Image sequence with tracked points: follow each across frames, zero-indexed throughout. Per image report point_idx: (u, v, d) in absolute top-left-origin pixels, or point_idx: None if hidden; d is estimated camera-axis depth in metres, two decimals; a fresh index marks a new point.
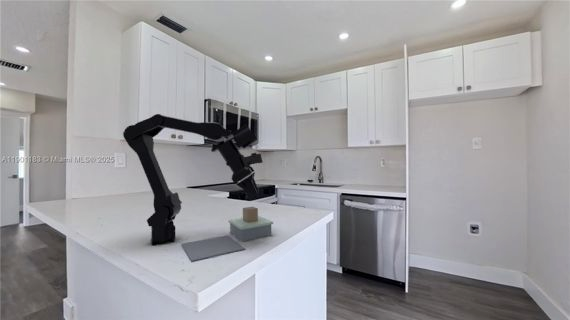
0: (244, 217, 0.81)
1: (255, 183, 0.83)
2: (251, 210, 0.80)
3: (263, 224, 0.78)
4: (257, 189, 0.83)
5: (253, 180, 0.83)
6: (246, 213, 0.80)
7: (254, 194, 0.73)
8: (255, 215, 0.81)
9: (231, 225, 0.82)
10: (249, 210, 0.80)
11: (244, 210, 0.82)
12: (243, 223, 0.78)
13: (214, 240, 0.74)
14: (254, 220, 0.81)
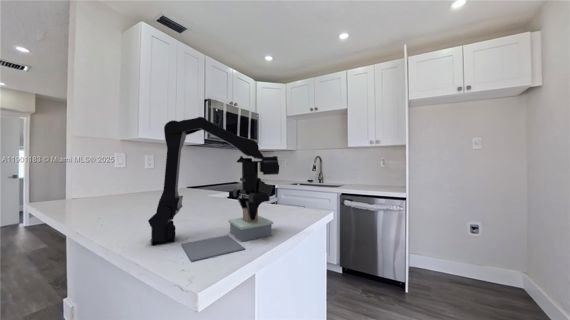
0: (244, 217, 0.81)
1: None
2: None
3: (263, 224, 0.78)
4: None
5: None
6: (246, 213, 0.80)
7: (252, 217, 0.80)
8: None
9: (231, 225, 0.82)
10: None
11: (244, 210, 0.82)
12: (243, 223, 0.78)
13: (214, 240, 0.74)
14: (254, 220, 0.81)
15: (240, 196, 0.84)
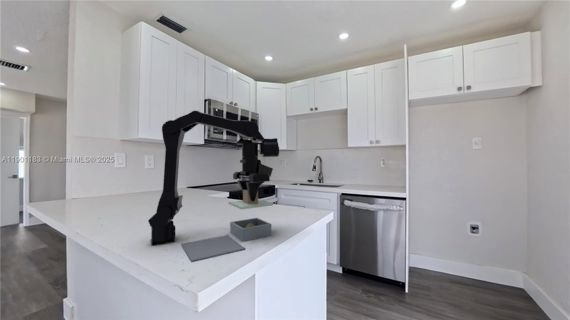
0: (244, 199, 0.82)
1: None
2: None
3: (263, 205, 0.78)
4: None
5: None
6: (246, 194, 0.80)
7: (252, 198, 0.80)
8: None
9: (231, 225, 0.82)
10: None
11: (244, 192, 0.82)
12: (243, 204, 0.78)
13: (214, 240, 0.74)
14: (254, 201, 0.81)
15: (240, 178, 0.84)
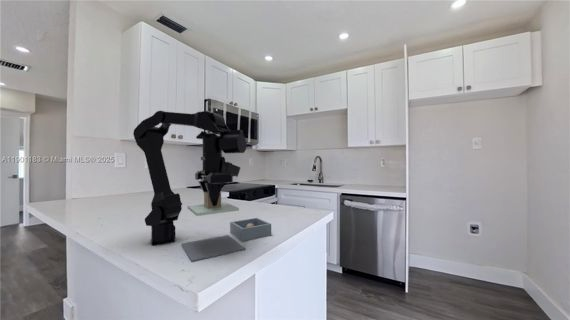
0: (205, 203, 0.69)
1: None
2: None
3: (226, 210, 0.66)
4: None
5: None
6: (207, 197, 0.68)
7: (214, 202, 0.67)
8: None
9: (231, 225, 0.82)
10: None
11: (205, 194, 0.69)
12: (202, 209, 0.66)
13: (214, 240, 0.74)
14: (216, 206, 0.69)
15: (202, 179, 0.72)
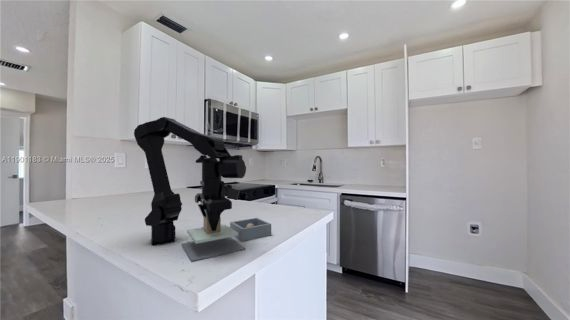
0: (204, 227, 0.69)
1: None
2: None
3: (225, 236, 0.66)
4: None
5: None
6: (206, 222, 0.67)
7: (213, 227, 0.67)
8: (217, 225, 0.69)
9: (231, 225, 0.82)
10: None
11: (204, 219, 0.69)
12: (201, 235, 0.66)
13: (214, 240, 0.74)
14: (216, 231, 0.68)
15: (201, 202, 0.72)
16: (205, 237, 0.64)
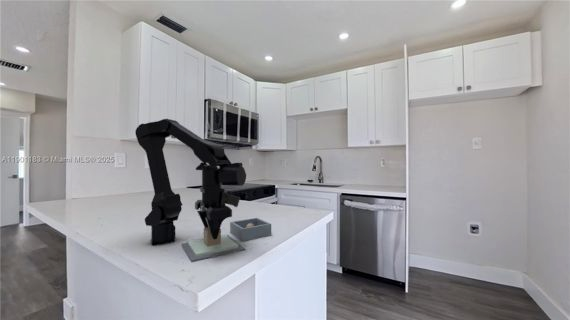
0: (204, 239, 0.69)
1: None
2: None
3: (225, 249, 0.66)
4: None
5: None
6: (206, 235, 0.67)
7: (214, 236, 0.66)
8: (217, 237, 0.68)
9: (231, 225, 0.82)
10: (209, 231, 0.67)
11: (204, 231, 0.69)
12: (201, 247, 0.66)
13: None
14: (216, 243, 0.68)
15: (201, 209, 0.73)
16: (205, 250, 0.64)
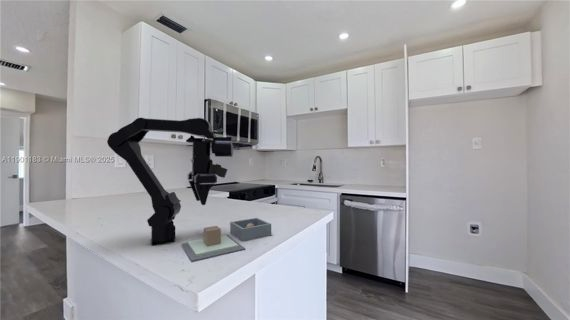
0: (204, 239, 0.69)
1: None
2: (212, 231, 0.68)
3: (225, 249, 0.66)
4: None
5: None
6: (206, 235, 0.67)
7: (202, 201, 0.72)
8: (217, 237, 0.68)
9: (231, 225, 0.82)
10: (209, 231, 0.67)
11: (204, 231, 0.69)
12: (201, 247, 0.66)
13: None
14: (216, 243, 0.68)
15: (191, 178, 0.82)
16: (205, 250, 0.64)
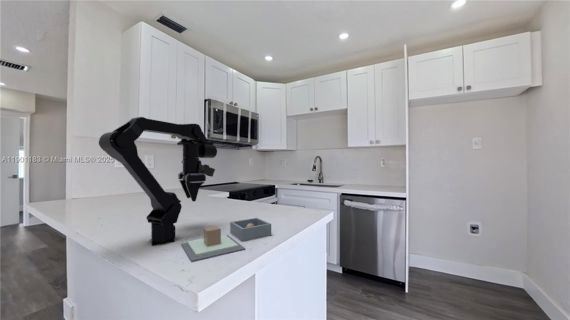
0: (204, 239, 0.69)
1: None
2: (212, 231, 0.68)
3: (225, 249, 0.66)
4: (190, 195, 0.89)
5: None
6: (206, 235, 0.67)
7: (193, 198, 0.81)
8: (217, 237, 0.68)
9: (231, 225, 0.82)
10: (209, 231, 0.67)
11: (204, 231, 0.69)
12: (201, 247, 0.66)
13: None
14: (216, 243, 0.68)
15: (182, 178, 0.89)
16: (205, 250, 0.64)
